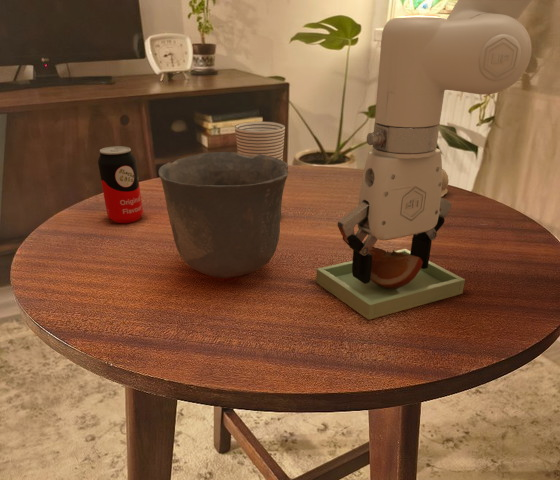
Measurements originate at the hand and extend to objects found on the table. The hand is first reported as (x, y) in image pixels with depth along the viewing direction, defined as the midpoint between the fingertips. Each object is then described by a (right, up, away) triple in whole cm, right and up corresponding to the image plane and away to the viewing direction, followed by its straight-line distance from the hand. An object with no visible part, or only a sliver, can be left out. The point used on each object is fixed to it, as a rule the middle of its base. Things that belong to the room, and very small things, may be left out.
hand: (390, 272), depth 76 cm
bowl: (-22, +1, +6) cm, 23 cm away
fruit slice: (0, -2, +1) cm, 2 cm away
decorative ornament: (+15, +22, +37) cm, 46 cm away
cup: (-18, +15, +26) cm, 35 cm away
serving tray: (0, -2, +1) cm, 2 cm away
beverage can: (-43, +14, +26) cm, 52 cm away
